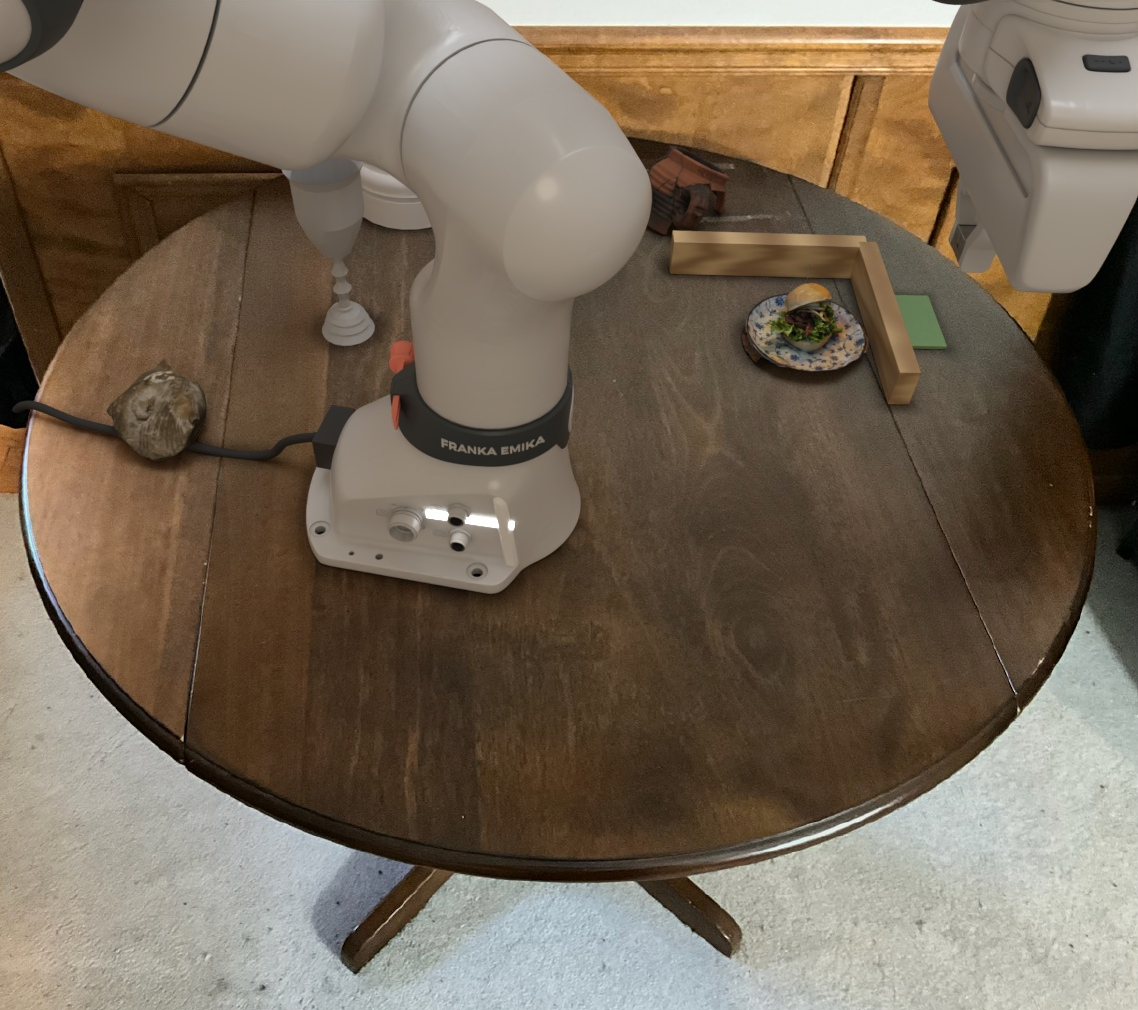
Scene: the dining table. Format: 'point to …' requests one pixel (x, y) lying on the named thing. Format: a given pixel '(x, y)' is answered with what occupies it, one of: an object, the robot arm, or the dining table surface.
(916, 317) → the green flat rectangular block
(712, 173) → the pottery mug
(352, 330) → the chalice
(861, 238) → the corner fence
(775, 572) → the dining table surface
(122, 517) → the dining table surface
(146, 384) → the fossilized seashell
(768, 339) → the burger
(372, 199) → the honey pot
